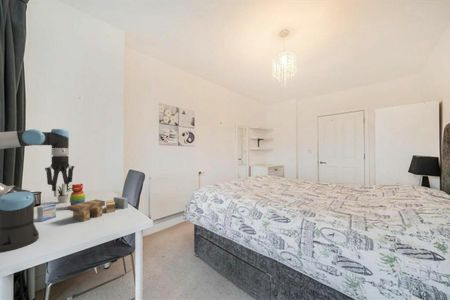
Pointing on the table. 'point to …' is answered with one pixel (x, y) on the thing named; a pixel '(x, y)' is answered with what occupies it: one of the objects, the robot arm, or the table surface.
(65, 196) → the house plant
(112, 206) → the skid
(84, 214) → the bed
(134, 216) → the table surface
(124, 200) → the block
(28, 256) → the table surface
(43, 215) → the medicine box
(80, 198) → the stacking bear
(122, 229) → the table surface
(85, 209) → the slab
